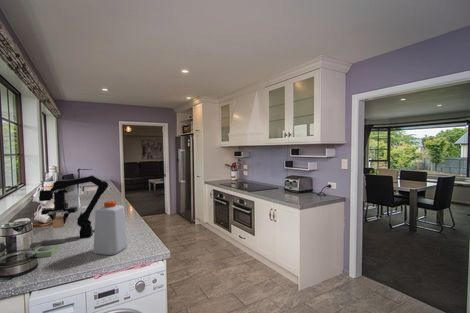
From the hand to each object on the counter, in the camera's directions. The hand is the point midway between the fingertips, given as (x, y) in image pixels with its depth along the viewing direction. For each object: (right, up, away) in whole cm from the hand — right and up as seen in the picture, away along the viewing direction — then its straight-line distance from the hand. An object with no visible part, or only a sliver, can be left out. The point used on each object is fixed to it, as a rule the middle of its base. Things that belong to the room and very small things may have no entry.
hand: (60, 223), depth 164 cm
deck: (+3, -11, -16) cm, 20 cm away
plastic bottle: (+41, -11, -17) cm, 46 cm away
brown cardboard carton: (0, -1, 0) cm, 1 cm away
